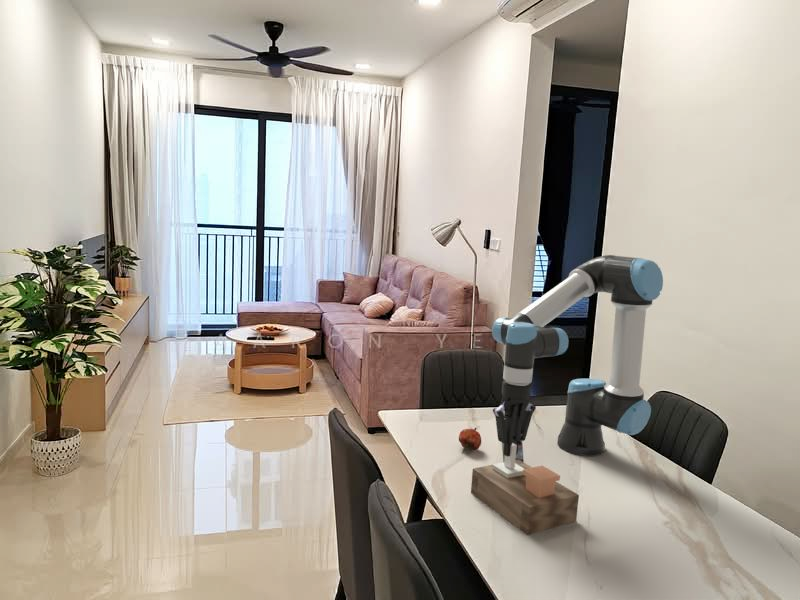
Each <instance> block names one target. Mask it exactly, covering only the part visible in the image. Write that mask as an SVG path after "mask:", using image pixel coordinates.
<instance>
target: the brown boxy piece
mask: <svg viewBox="0 0 800 600" xmlns="http://www.w3.org/2000/svg"><path fill="white" fill-rule="evenodd" d="M515 463H516V464H517V465H519V466H521V467H522V468H524V469H528V468H533V467H532V466H531V465H529V464H527V463H525V461H524V462H522V461H521V460H519V459H518V460H515ZM492 466H493V464H489V465H484V466H480V467H474V468H472V472H471V473H472V475H471V487H470V494H472V495H473V496H474V497H476V498H478V500H480V501H481V502H482V503H484V504H485V505H487V507H489V508H490V509H492V510H493V511H495V512H496V513H498V514H499V515H500V516H501V517H503V518H504V519H505V520H507V521H509V523H511V524H513V526H515V527H516V528H517V529H519V530H521V531H522V532H523V533H524V534H526V535H527V536H528V535H532V534H535V533H539V532H542V531H543V532H544V531H545V530H549V529H553V528H557V527H560V526H563V525H567V524H570V523H574V522H577V517H578V516H577V515H578V509H579V508H578V507H579V498H580V494H578V493H577V492H575V491H573V490H571V489H569V488H568V487H566V486H565V485H562V484H561V483H560V482H559V481H555V490H554V495H550V496H546V497H542V498H538V497H536V496H534V495H533V494H531V493H530V492H528V491H527V490H525V488H526V477H527V476H525V475H521V476H516V477H511V478H506V477H504V476H503V475H501V474H500V473H498V472H497V471H495V470H494V469H492ZM556 526H557V527H556Z"/></svg>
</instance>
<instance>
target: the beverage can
mask: <svg viewBox="0 0 800 600" xmlns="http://www.w3.org/2000/svg"><path fill="white" fill-rule="evenodd" d="M521 435H522V434H521ZM520 442H521V443H522V444H521V445H518V453H517V455H516V459H515V460H518V459H519V460H521V461H522V462H524V463H525V461H524V448H523V447H524V446H523V441H520ZM501 447H502V448H501V449H502V452H503V451H504V443H502V442H501ZM504 458H505V455H504V454H503V453H502V461H503V462H504Z"/></svg>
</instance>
